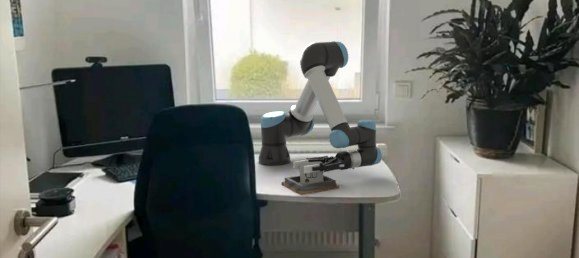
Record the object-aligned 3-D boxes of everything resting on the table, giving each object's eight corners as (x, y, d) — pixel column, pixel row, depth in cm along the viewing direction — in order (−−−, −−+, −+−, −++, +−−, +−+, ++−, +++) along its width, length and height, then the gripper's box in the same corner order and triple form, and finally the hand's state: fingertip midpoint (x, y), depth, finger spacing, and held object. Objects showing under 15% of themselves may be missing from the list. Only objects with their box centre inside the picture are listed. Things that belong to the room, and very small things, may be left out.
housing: (281, 184, 228) (281, 177, 228) (317, 178, 236) (317, 171, 235) (301, 195, 213) (301, 187, 213) (339, 188, 221) (339, 180, 221)
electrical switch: (300, 186, 221) (299, 163, 220) (299, 184, 226) (298, 161, 225) (323, 185, 222) (323, 162, 221) (321, 183, 227) (321, 160, 226)
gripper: (361, 174, 223) (312, 182, 213) (334, 163, 241) (287, 170, 231) (361, 156, 221) (311, 163, 211) (334, 146, 240) (286, 153, 229)
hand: (299, 167), depth 221 cm, fingers open, 8 cm apart
